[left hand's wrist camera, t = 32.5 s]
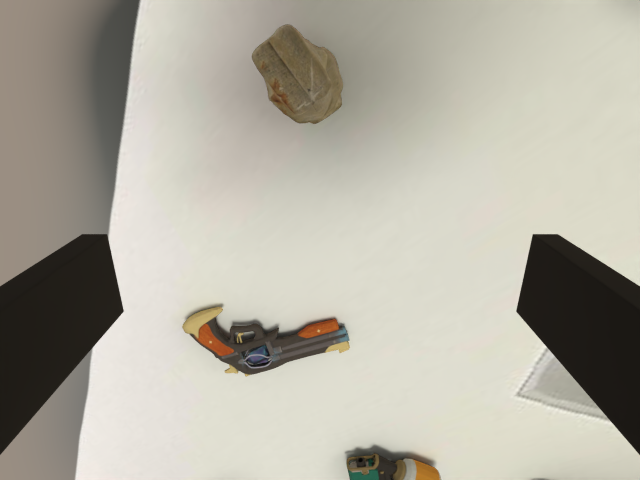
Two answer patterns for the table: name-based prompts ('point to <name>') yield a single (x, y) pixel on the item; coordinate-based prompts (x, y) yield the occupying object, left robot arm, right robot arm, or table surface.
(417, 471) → the spray gun
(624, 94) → the table surface
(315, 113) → the sculpture
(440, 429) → the table surface
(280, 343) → the toy gun
